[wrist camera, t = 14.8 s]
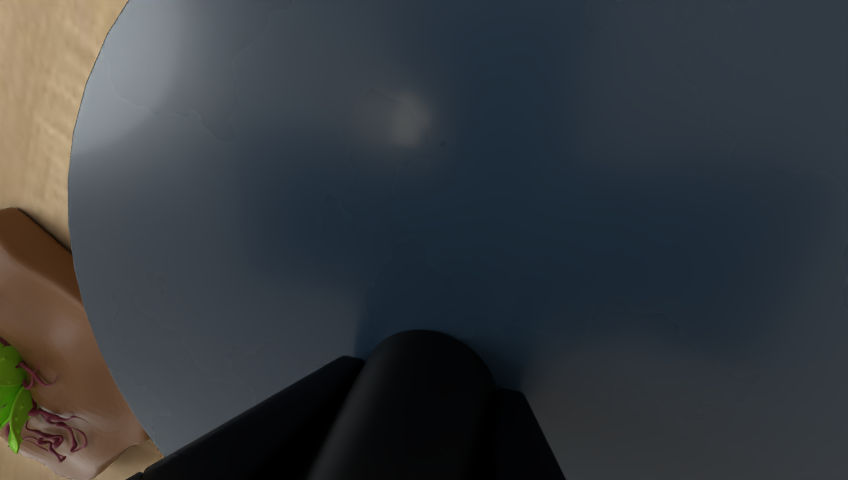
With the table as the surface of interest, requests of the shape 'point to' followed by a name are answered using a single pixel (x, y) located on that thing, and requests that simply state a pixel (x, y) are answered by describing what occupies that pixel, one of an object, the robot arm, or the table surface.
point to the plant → (54, 361)
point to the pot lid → (478, 227)
